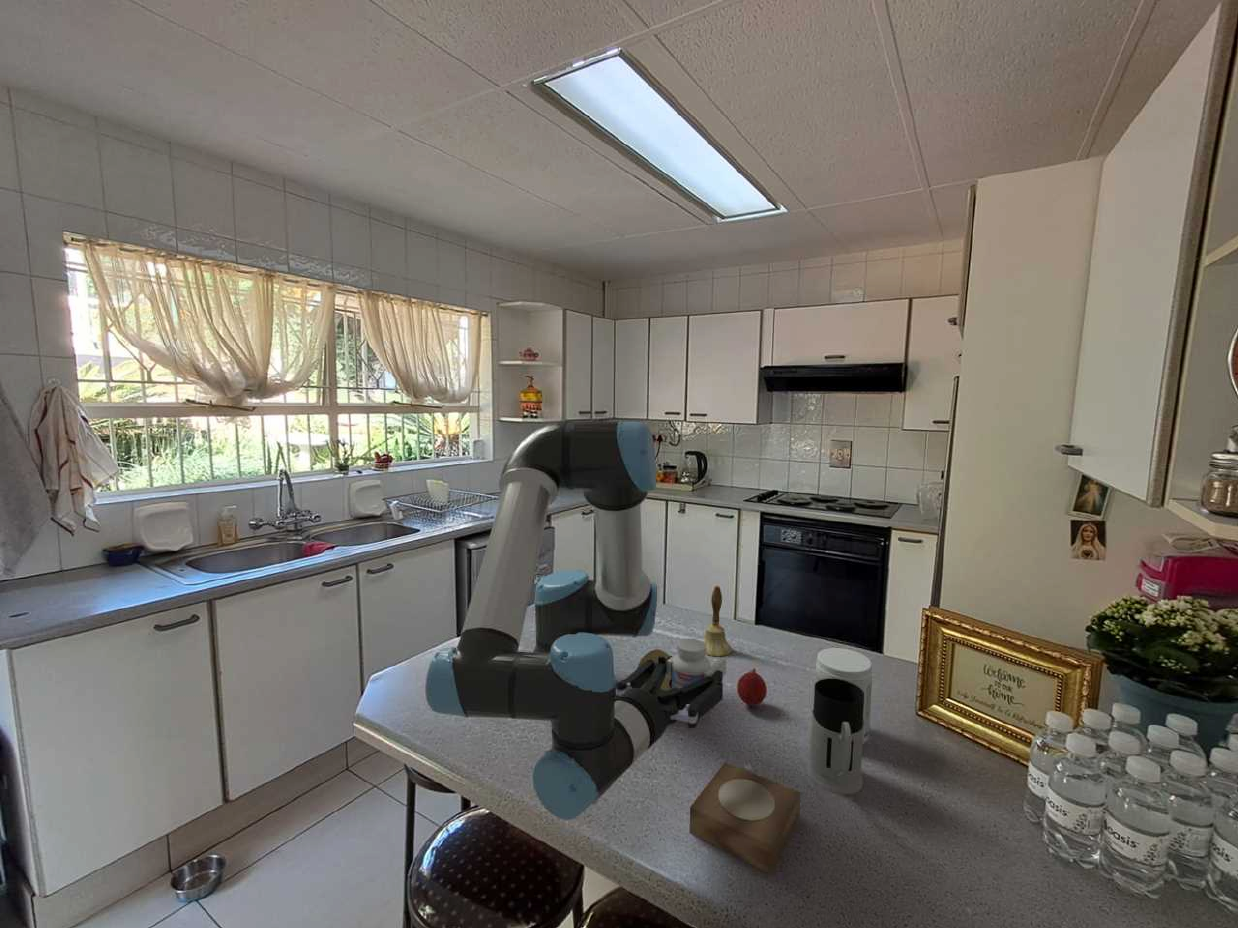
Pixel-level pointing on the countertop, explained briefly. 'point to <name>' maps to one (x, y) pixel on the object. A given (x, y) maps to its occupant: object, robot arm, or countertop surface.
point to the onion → (751, 688)
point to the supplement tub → (848, 674)
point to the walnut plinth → (746, 815)
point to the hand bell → (716, 630)
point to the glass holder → (837, 736)
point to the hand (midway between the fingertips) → (705, 659)
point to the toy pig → (654, 656)
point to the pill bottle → (689, 663)
